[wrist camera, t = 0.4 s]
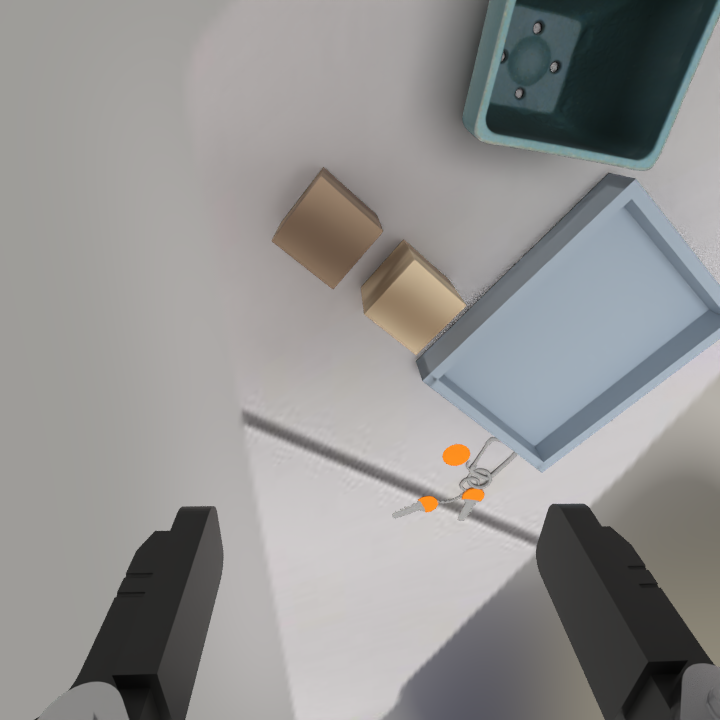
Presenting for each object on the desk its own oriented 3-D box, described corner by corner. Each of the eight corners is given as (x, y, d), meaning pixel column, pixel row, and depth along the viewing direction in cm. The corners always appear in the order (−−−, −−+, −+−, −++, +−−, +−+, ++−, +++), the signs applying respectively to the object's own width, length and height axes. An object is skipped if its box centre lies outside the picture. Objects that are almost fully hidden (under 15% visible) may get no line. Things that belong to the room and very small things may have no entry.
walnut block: (323, 166, 28) (321, 176, 24) (376, 214, 30) (383, 231, 26) (281, 222, 30) (271, 240, 26) (333, 265, 31) (333, 289, 27)
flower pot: (434, 134, 28) (472, 141, 20) (472, -52, 24) (539, -136, 16) (567, 157, 29) (654, 173, 21) (627, -17, 25) (762, -79, 17)
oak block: (403, 239, 31) (414, 259, 26) (449, 279, 32) (466, 305, 28) (360, 287, 32) (364, 314, 28) (405, 324, 34) (416, 355, 29)
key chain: (464, 417, 39) (466, 423, 38) (529, 449, 41) (533, 455, 40) (385, 512, 44) (386, 519, 43) (447, 536, 46) (449, 543, 45)
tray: (609, 173, 29) (635, 178, 27) (714, 303, 34) (746, 318, 31) (416, 361, 35) (422, 380, 33) (528, 449, 40) (542, 472, 37)
